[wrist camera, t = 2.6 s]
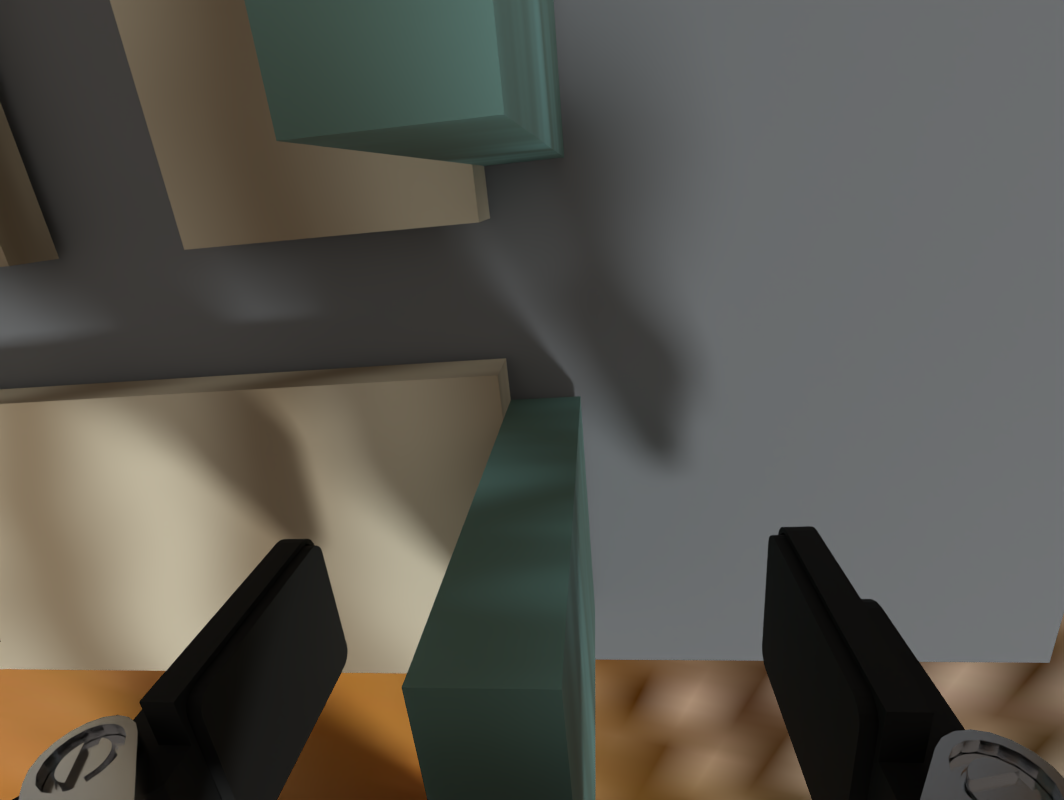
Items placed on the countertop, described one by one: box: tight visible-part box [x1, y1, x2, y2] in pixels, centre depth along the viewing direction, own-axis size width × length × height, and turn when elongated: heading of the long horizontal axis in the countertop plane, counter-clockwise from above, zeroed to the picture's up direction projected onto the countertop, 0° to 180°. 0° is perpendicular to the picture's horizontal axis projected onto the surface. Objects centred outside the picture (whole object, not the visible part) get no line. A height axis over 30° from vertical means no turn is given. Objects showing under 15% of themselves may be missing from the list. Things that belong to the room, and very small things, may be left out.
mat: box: [0, 0, 1064, 663], centre depth 14 cm, size 37×21×1 cm, turn 95°
